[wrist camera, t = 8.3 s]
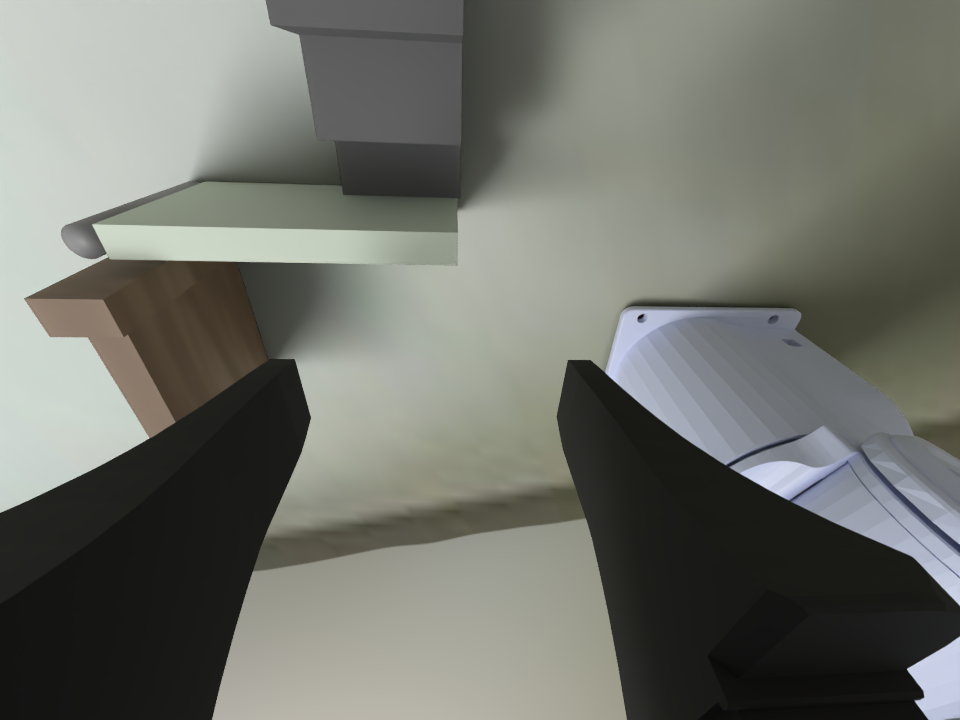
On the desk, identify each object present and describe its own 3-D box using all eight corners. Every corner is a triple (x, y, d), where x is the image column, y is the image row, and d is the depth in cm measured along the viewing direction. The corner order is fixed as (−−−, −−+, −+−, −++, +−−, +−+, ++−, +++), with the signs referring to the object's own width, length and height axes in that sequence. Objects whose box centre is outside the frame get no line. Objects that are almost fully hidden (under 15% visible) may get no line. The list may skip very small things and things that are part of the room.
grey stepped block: (323, -53, 13) (236, -144, 8) (461, -44, 13) (464, -126, 8) (354, 183, 17) (311, 224, 12) (459, 187, 17) (460, 228, 12)
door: (188, 206, 16) (73, 258, 11) (179, 180, 16) (53, 223, 11) (457, 213, 17) (457, 265, 12) (457, 189, 16) (457, 232, 12)
